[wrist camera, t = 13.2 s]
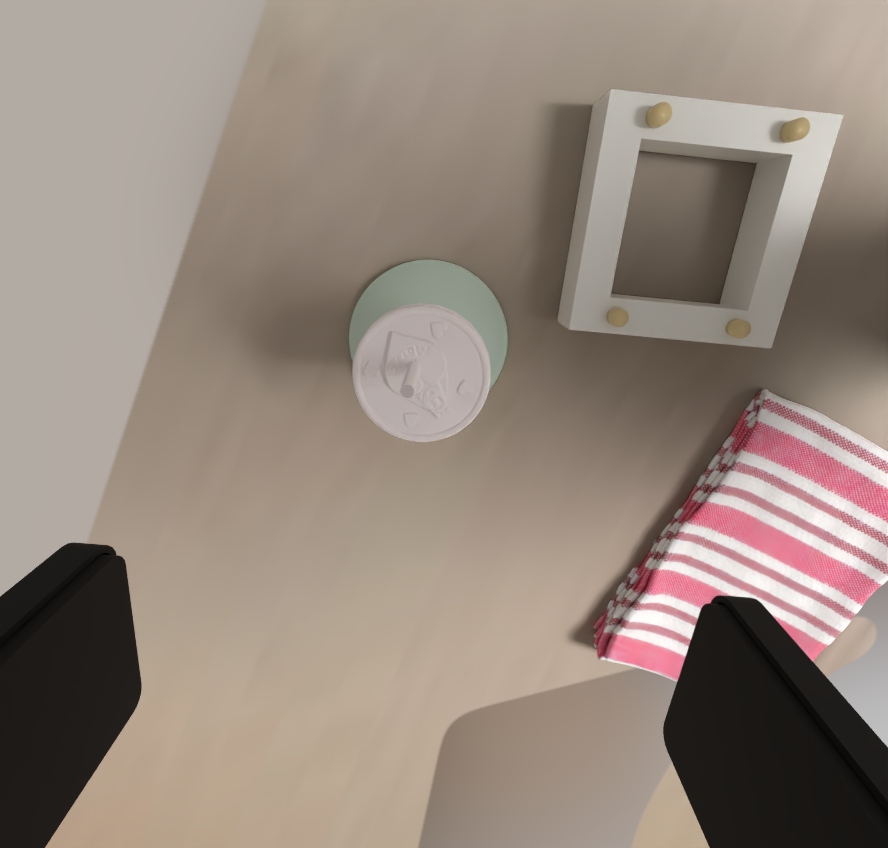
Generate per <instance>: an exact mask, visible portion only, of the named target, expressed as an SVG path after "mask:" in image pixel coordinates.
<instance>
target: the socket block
mask: <svg viewBox="0 0 888 848" xmlns="http://www.w3.org/2000/svg"><path fill="white" fill-rule="evenodd" d="M842 119H843V115H839V114H830V113H821V112H812V111H803V110H794V109H785V108H776V107H768V106H759V105H750V104H741V103H732V102H723V101H714V100H705V99H696V98H687V97H678V96H670V95H661V94H652V93H643V92H634V91H625V90H616V89H610V90H609V91H608V92H607V93H606V94H605V95H603V96H602V97H601V98H600V99H599V100H598V101H597V102H595V103H594V104H593V107H592V113H591V119H590V125H589V131H588V137H587V144H586V150H585V156H584V162H583V168H582V174H581V180H580V186H579V192H578V198H577V204H576V210H575V216H574V222H573V228H572V234H571V240H570V246H569V252H568V258H567V264H566V270H565V276H564V282H563V288H562V294H561V300H560V306H559V313H558V319H557V322H559V323H560V324H561V325H563V326H564V327H566V328H567V329H569V330H577V331H588V332H599V333H610V334H620V335H631V336H642V337H652V338H663V339H674V340H685V341H695V342H706V343H717V344H727V345H738V346H749V347H760V348H770V349H771V348H772V345H773V342H774V338H775V335H776V332H777V329H778V325H779V322H780V319H781V316H782V312H783V309H784V306H785V303H786V300H787V296H788V293H789V290H790V287H791V283H792V280H793V277H794V274H795V270H796V267H797V264H798V261H799V258H800V254H801V251H802V248H803V245H804V241H805V238H806V235H807V232H808V228H809V225H810V222H811V219H812V216H813V212H814V209H815V206H816V203H817V199H818V196H819V193H820V190H821V186H822V183H823V180H824V177H825V174H826V170H827V167H828V164H829V161H830V157H831V154H832V151H833V148H834V144H835V141H836V138H837V135H838V132H839V128H840V125H841V122H842ZM639 151H647V152H656V153H665V154H675V155H684V156H693V157H703V158H712V159H721V160H730V161H740V162H749V163H757V165H756V169H755V173H754V176H753V180H752V184H751V188H750V191H749V195H748V199H747V203H746V206H745V210H744V214H743V217H742V221H741V225H740V229H739V232H738V236H737V240H736V244H735V247H734V251H733V255H732V259H731V262H730V266H729V270H728V274H727V277H726V281H725V285H724V288H723V292H722V296H721V300H720V303H719V304H712V303H702V302H691V301H681V300H671V299H660V298H650V297H639V296H629V295H619V294H611V290H612V285H613V280H614V275H615V270H616V265H617V260H618V255H619V250H620V245H621V240H622V235H623V229H624V224H625V219H626V214H627V209H628V204H629V199H630V194H631V189H632V184H633V179H634V174H635V169H636V163H637V158H638V153H639Z"/></svg>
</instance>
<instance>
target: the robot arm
mask: <svg viewBox="0 0 888 848" xmlns="http://www.w3.org/2000/svg"><path fill="white" fill-rule="evenodd" d="M140 695H141V677H140V670H139V662H138V654H137V647H136V639H135V631H134V624H133V616H132V608H131V601H130V593H129V586H128V578H127V570H126V564H125V560H124V559H123V557H121V556H117V555H116V552H115V550H114V549H113V548H112V547H111V546H108V545H97V544H84V543H69V544H66V545H64V546H63V547H61V548H60V549H59V550H58V551H56V552H55V553H54V554H53V555H51V556H50V557H49V558H48V559H46V560H45V561H44V562H43V563H41V564H40V565H39V566H38V567H36V568H35V569H34V570H33V571H32V572H30V573H29V574H28V575H27V576H25V577H24V578H23V579H22V580H21V581H19V582H18V583H17V584H15V585H14V586H13V587H12V588H10V589H9V590H8V591H7V592H5V593H4V594H3V595H2V596H1V597H0V848H45V847H46V845H47V844H48V842H49V840H50V839H51V837H52V836H53V834H54V833H55V831H56V830H57V828H58V827H59V825H60V824H61V822H62V821H63V819H64V818H65V816H66V815H67V813H68V811H69V810H70V808H71V807H72V805H73V804H74V802H75V801H76V799H77V798H78V796H79V795H80V793H81V792H82V790H83V789H84V787H85V786H86V784H87V782H88V781H89V779H90V778H91V776H92V775H93V773H94V772H95V770H96V769H97V767H98V766H99V764H100V763H101V761H102V760H103V758H104V757H105V755H106V753H107V752H108V750H109V749H110V747H111V746H112V744H113V743H114V741H115V740H116V738H117V737H118V735H119V734H120V732H121V731H122V729H123V728H124V726H125V725H126V723H127V721H128V720H129V718H130V717H131V715H132V714H133V712H134V710H135V709H136V707H137V704H138V702H139V698H140ZM663 734H664V741H665V745H666V748H667V751H668V753H669V756H670V758H671V760H672V762H673V765H674V767H675V769H676V772H677V774H678V776H679V778H680V781H681V783H682V785H683V788H684V790H685V792H686V794H687V797H688V799H689V801H690V804H691V806H692V808H693V810H694V813H695V815H696V817H697V820H698V822H699V824H700V826H701V829H702V831H703V833H704V836H705V838H706V840H707V842H708V845H709V847H710V848H888V747H887V746H886V745H885V744H884V743H883V742H882V741H881V739H880V738H879V737H878V736H877V735H876V734H875V733H874V731H873V730H872V729H871V728H870V727H869V726H868V724H867V723H866V722H865V721H864V720H863V719H862V718H861V716H859V714H858V713H857V712H856V711H855V710H854V708H853V707H852V706H851V705H850V704H849V703H848V702H847V701H846V699H845V698H844V697H843V696H842V695H841V694H840V692H839V691H838V690H837V689H836V688H835V687H834V686H833V684H832V683H831V682H830V681H829V680H828V679H827V678H826V676H825V675H824V674H823V673H822V672H821V671H820V670H819V668H818V667H817V666H816V665H815V664H814V663H813V661H812V660H811V659H810V658H809V657H808V656H807V655H806V653H805V652H804V651H803V650H802V649H801V648H800V647H799V645H798V644H797V643H796V642H795V641H794V640H793V639H792V637H791V636H790V635H789V634H788V633H787V632H786V631H785V629H784V628H783V627H782V626H781V625H780V624H779V623H778V621H777V620H776V619H775V618H774V617H773V616H772V615H771V613H770V612H769V611H768V610H767V609H766V608H765V607H764V605H763V604H762V603H761V602H759V601H758V600H757V599H754V598H749V597H737V596H724V595H719V596H715V597H714V598H713V599H712V601H711V603H708V604H705V605H703V606H702V608H701V610H700V613H699V616H698V619H697V623H696V626H695V629H694V632H693V635H692V638H691V641H690V644H689V647H688V650H687V654H686V657H685V660H684V663H683V666H682V669H681V672H680V675H679V678H678V681H677V685H676V688H675V691H674V694H673V697H672V700H671V703H670V706H669V709H668V713H667V716H666V719H665V722H664V727H663Z"/></svg>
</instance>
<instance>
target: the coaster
mask: <svg viewBox="0 0 888 848" xmlns="http://www.w3.org/2000/svg"><path fill="white" fill-rule="evenodd" d="M417 303H424V304H432V305H439V306H442V307H444V308H447V309H449V310H452V311H454V312H456V313H458V314H459V315H460V316H462V317H463V318H464V319H466V320H467V321H468V322H470V323H471V324H472V326H473V327H474V328H475V329H476V331H477V332H478V333H479V335H480V336H481V337H482V339H483V341H484V344H485V346H486V349H487V351H488V354H489V359H490V367H491V381H490V388H489V390H490V389H491V387H492V386H493V384H494V383H495V381H496V380H497V378H498V376H499V374H500V372H501V370H502V368H503V365H504V362H505V358H506V353H507V344H508V335H507V326H506V321H505V317H504V314H503V311H502V309H501V307H500V305H499V303H498V301H497V299H496V297H495V296H494V294H493V293H492V291H491V290H490V289H489V288H488V287H487V286H486V285H485V283H484V282H483V281H481V280H480V279H479V278H478V277H477V276H476V275H474V274H473V273H471V272H470V271H468V270H466V269H464V268H462V267H460V266H458V265H456V264H453V263H449V262H446V261H440V260H428V259H424V260H415V261H410V262H406V263H403V264H400V265H398V266H395V267H393V268H391V269H390V270H388V271H386V272H385V273H383V274H382V275H380V276H379V277H378V278H377V279H375V280H374V281H373V282H372V283H371V284H370V285H369V286H368V287H367V289H366V290H365V291H364V293H363V294H362V295H361V297H360V299H359V301H358V303H357V304H356V307H355V309H354V312H353V315H352V318H351V323H350V329H349V348H350V354H351V358H352V361H353V360H354V356H355V353H356V350H357V347H358V345H359V343H360V341H361V339H362V337H363V336H364V335H365V333H366V332H367V330H368V329H369V327H370V326H371V325H372V324H373V323H374V322H375V321H377V320H378V319H379V318H380V317H381V316H383V315H384V314H385V313H387V312H389V311H392V310H394V309H396V308H398V307H400V306H404V305H411V304H417Z"/></svg>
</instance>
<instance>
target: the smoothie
mask: <svg viewBox="0 0 888 848" xmlns="http://www.w3.org/2000/svg"><path fill="white" fill-rule="evenodd" d="M352 379H353V386H354V390H355V394H356V397H357V399H358V401H359V403H360V405H361V407H362V409H363V410H364V412H365V413H366V415H367V416H368V417H369V418H370V419H371V420H372V421H373V422H374V423H375V424H376V425H377V426H378V427H380V428H381V429H382V430H384V431H385V432H387V433H389V434H391V435H393V436H395V437H398V438H400V439H404V440H408V441H414V442H431V441H437V440H441V439H445V438H447V437H450V436H452V435H454V434H456V433H458V432H459V431H461V430H462V429H464V428H465V427H466V426H468V425H469V424H470V423H471V422H472V421H473V420H474V419H475V417H476V416H477V415H478V413H479V412H480V411H481V409H482V407H483V405H484V403H485V401H486V398H487V395H488V392H489V388H490V381H491V367H490V359H489V354H488V351H487V349H486V346H485V344H484V341H483V339H482V337H481V336H480V335H479V333H478V332H477V331H476V329H475V328H474V327H473V326H472V324H471V323H470V322H468V321H467V320H466V319H464V318H463V317H462V316H460V315H459V314H458V313H456V312H454V311H452V310H449V309H447V308H444V307H442V306H439V305H432V304H424V303H417V304H411V305H404V306H400V307H398V308H396V309H394V310H392V311H389V312H387V313H385V314H384V315H383V316H381V317H380V318H379V319H378V320H377V321H375V322H374V323H373V324H372V325H371V326H370V327H369V329H368V330H367V332H366V333H365V335H364V336H363V337H362V339H361V341H360V343H359V345H358V347H357V350H356V353H355V356H354V360H353V367H352Z"/></svg>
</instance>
